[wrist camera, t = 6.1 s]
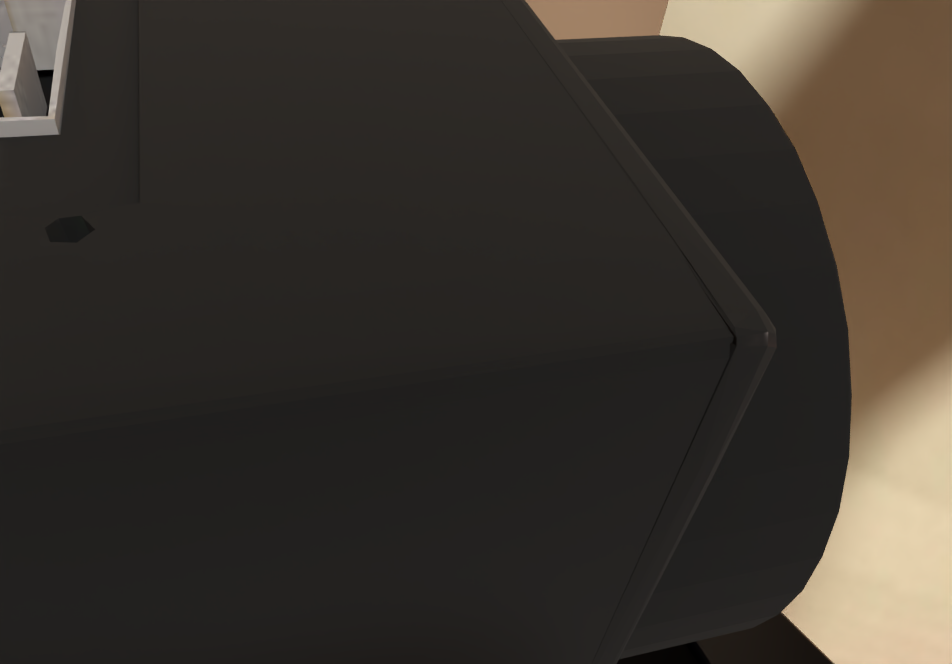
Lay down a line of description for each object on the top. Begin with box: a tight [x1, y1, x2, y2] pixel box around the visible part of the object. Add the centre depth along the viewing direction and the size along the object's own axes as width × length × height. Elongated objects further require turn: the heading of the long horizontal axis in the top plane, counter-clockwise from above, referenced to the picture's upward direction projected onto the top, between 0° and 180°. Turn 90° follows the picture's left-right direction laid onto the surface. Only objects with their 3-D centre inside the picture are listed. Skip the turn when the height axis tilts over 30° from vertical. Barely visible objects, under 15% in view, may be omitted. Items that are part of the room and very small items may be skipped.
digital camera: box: [0, 0, 852, 664], centre depth 8 cm, size 10×5×7 cm, turn 175°
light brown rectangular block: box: [525, 0, 668, 40], centre depth 13 cm, size 8×12×4 cm, turn 172°
